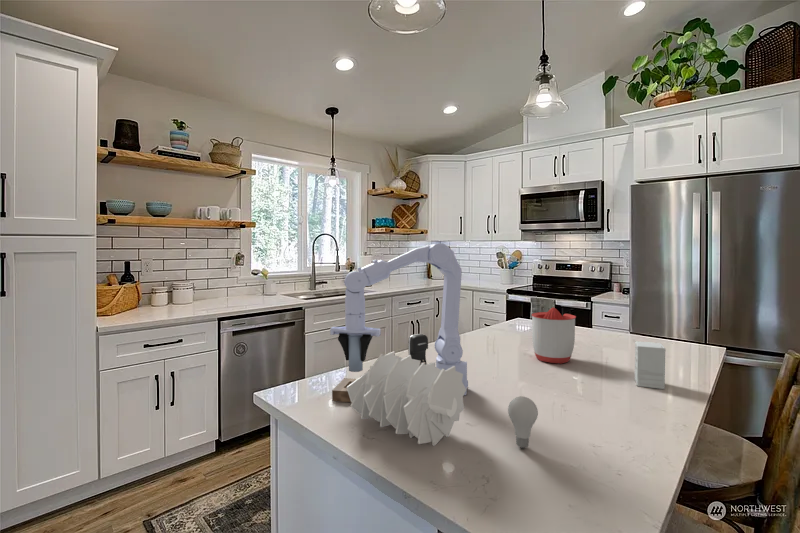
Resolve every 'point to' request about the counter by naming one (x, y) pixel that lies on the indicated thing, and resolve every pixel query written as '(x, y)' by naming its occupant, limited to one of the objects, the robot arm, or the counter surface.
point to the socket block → (342, 391)
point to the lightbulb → (522, 418)
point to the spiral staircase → (409, 397)
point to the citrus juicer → (553, 336)
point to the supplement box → (650, 364)
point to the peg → (355, 353)
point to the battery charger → (418, 347)
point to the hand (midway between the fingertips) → (355, 359)
